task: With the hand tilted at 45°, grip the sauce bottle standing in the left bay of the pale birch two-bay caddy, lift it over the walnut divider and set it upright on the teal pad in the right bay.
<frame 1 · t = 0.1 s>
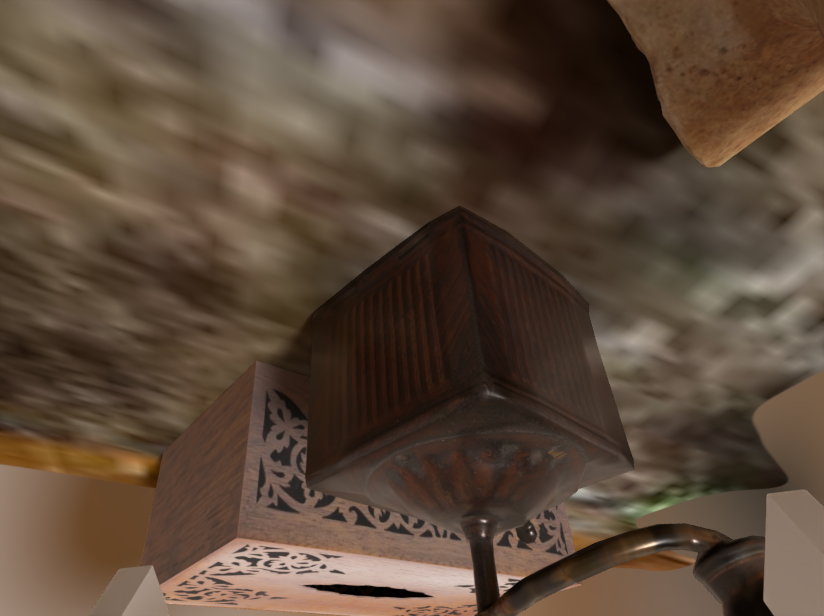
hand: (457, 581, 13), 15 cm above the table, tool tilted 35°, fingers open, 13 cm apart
pepper mill: (490, 280, 29), on the table
tissue box cover: (369, 446, 44), on the table
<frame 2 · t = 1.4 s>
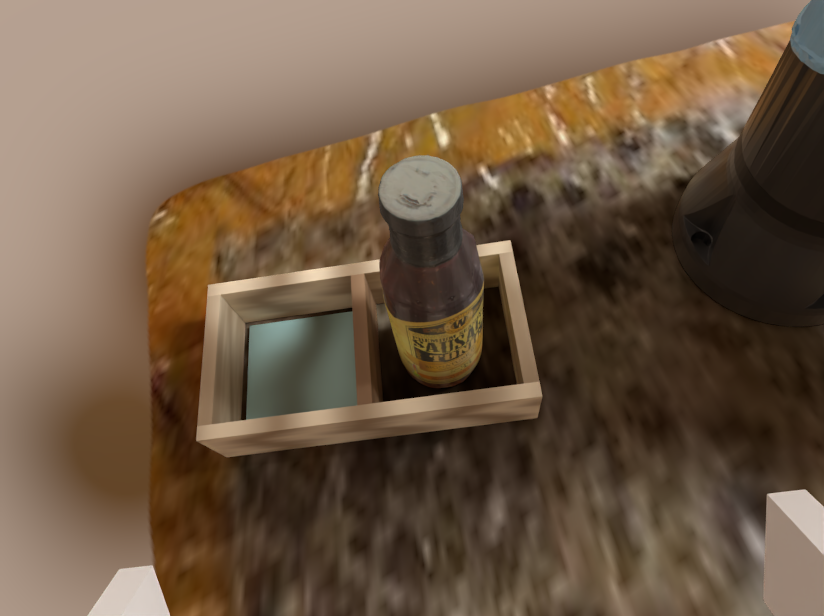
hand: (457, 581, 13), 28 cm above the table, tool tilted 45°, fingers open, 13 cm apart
birch caddy: (373, 361, 45), on the table
sauce bottle: (444, 353, 45), resting in birch caddy
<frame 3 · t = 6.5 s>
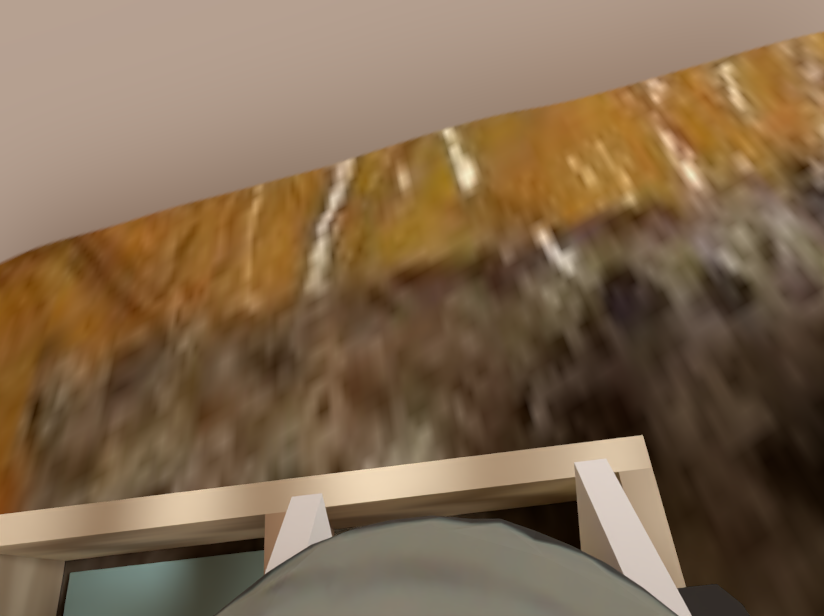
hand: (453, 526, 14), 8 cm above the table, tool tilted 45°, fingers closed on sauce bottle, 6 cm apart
when the fingers open (10 cm above the table, at t = 13.0 s): sauce bottle drops 1 cm, resting on birch caddy.
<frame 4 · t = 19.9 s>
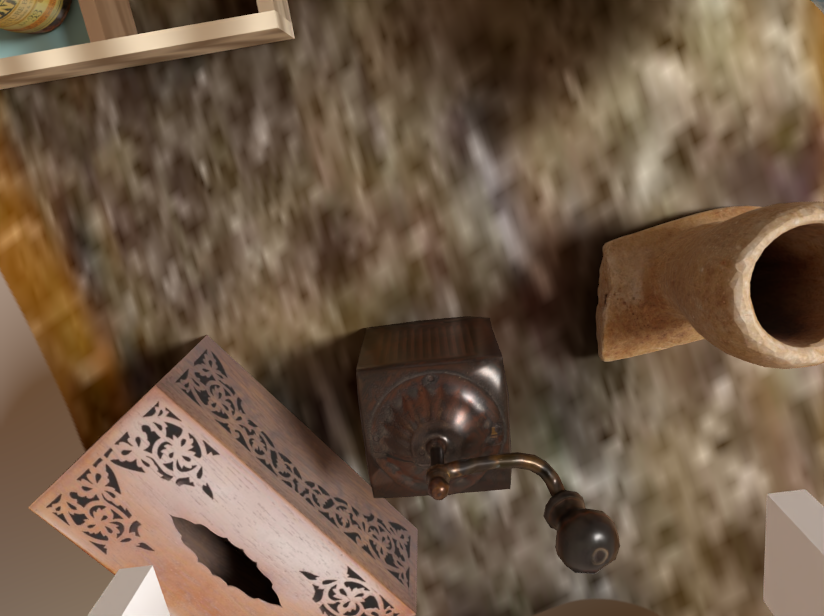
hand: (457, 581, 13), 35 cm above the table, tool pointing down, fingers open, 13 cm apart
pepper mill: (463, 377, 49), on the table
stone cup: (676, 263, 46), on the table
tissue box cover: (263, 481, 53), on the table
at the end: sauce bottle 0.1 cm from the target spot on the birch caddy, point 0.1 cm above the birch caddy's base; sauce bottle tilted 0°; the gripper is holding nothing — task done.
